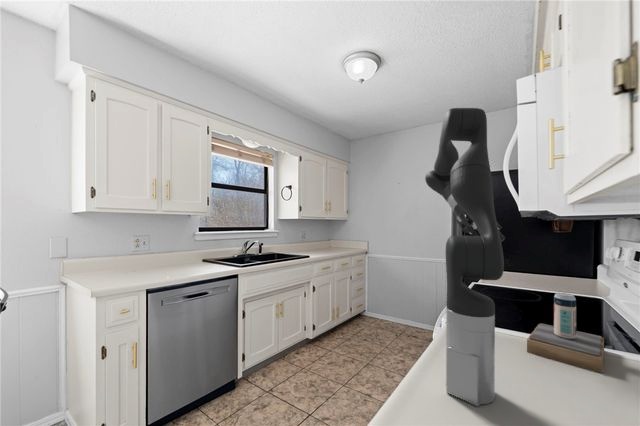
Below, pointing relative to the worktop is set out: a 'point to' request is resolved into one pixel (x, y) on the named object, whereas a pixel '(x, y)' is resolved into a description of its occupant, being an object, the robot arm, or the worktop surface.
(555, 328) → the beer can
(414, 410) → the worktop surface
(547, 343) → the dock
